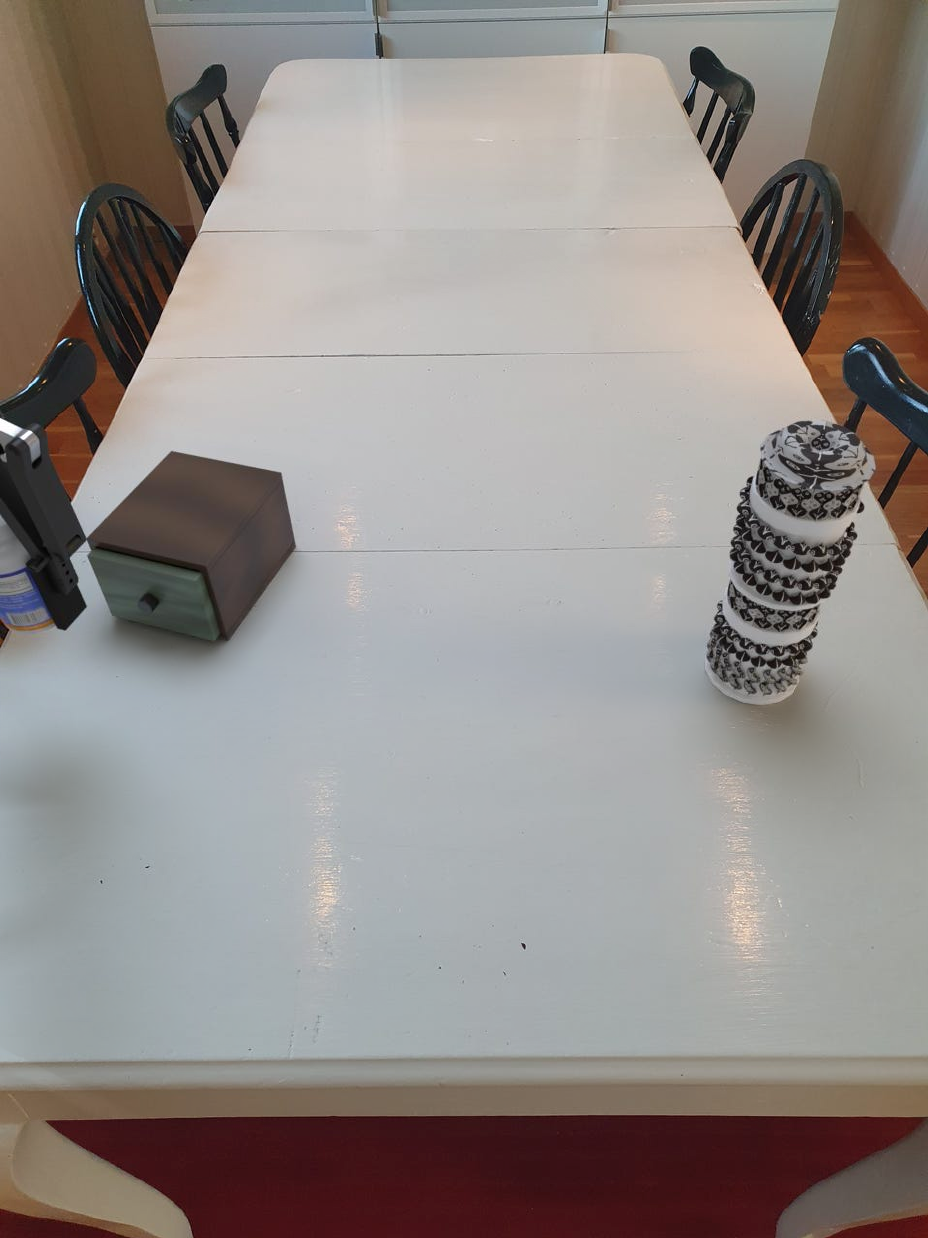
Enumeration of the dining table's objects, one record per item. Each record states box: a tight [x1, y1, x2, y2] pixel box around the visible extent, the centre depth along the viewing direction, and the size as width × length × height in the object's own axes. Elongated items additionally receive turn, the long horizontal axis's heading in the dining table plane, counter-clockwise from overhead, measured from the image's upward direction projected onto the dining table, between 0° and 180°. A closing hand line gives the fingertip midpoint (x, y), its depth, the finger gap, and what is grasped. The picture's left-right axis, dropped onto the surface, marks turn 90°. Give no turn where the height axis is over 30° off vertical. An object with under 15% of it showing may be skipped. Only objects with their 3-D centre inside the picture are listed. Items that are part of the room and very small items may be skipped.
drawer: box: [86, 548, 221, 642], centre depth 88 cm, size 15×11×8 cm
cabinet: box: [86, 450, 297, 641], centre depth 90 cm, size 15×13×10 cm
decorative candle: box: [704, 419, 877, 706], centre depth 74 cm, size 9×9×25 cm
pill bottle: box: [0, 515, 56, 635], centre depth 66 cm, size 5×5×10 cm
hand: (38, 608), depth 70 cm, fingers closed on pill bottle, 5 cm apart
